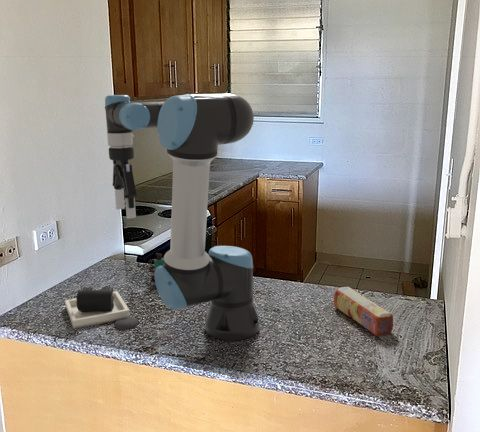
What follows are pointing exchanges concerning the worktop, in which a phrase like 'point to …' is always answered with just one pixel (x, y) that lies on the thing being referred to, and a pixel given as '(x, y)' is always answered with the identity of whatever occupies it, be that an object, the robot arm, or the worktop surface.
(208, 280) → the robot arm
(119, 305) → the mount tray
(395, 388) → the worktop surface
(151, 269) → the binoculars
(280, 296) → the worktop surface
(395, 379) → the worktop surface
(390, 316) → the snack package
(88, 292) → the end cap
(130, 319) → the lens cap
